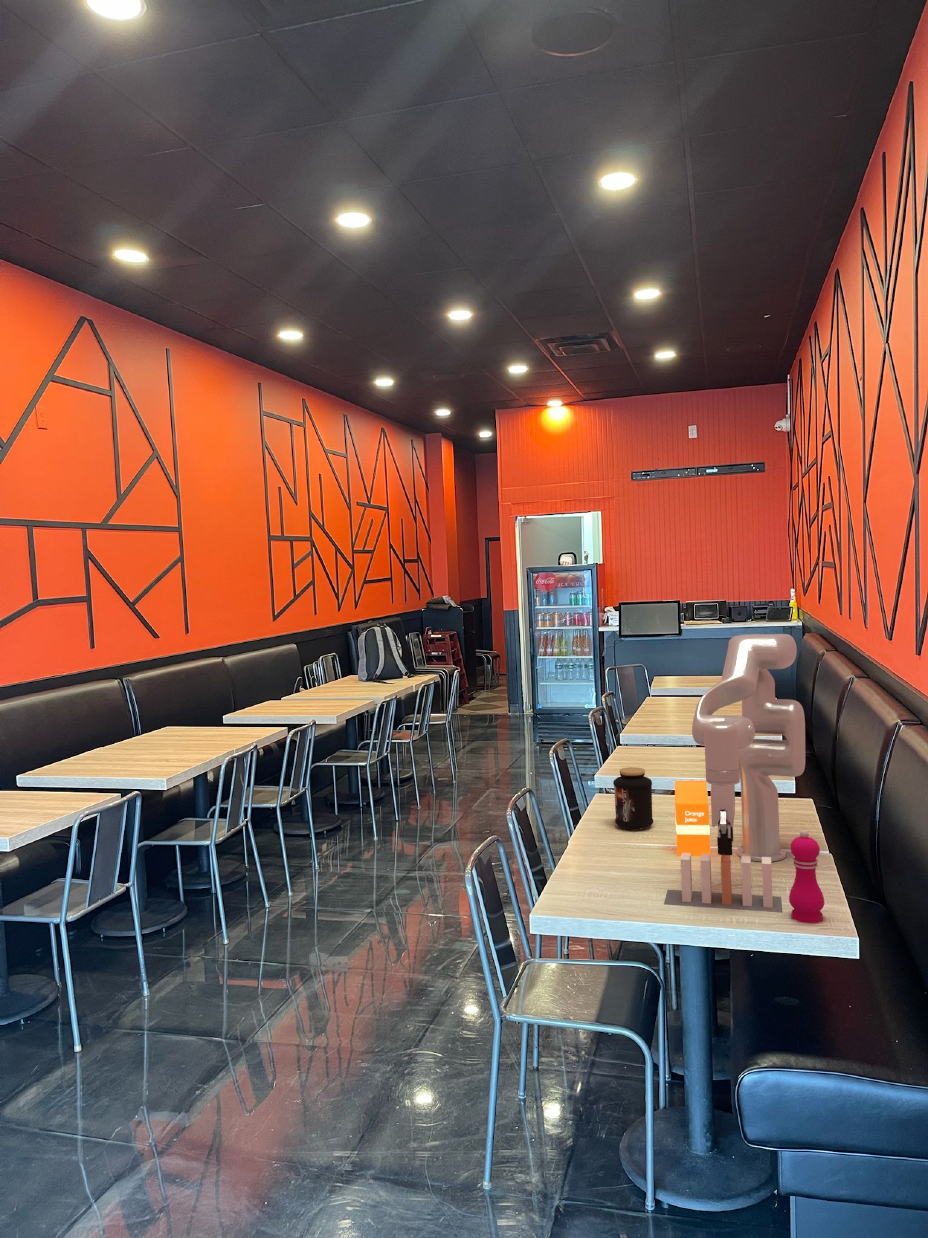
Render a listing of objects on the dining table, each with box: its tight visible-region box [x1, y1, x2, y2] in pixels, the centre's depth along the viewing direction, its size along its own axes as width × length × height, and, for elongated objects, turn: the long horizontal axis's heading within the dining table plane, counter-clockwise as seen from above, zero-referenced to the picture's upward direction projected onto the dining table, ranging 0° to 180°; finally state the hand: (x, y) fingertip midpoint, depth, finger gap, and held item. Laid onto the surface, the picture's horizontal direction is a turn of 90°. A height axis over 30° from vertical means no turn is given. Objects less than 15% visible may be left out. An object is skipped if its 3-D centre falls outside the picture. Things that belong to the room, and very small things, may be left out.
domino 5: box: [761, 857, 773, 908], centre depth 200 cm, size 2×5×10 cm, turn 162°
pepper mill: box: [788, 829, 825, 924], centre depth 191 cm, size 7×7×20 cm
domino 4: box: [740, 856, 753, 906], centre depth 201 cm, size 2×5×10 cm, turn 162°
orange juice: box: [674, 780, 711, 857], centre depth 242 cm, size 8×9×20 cm
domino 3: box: [720, 855, 733, 905], centre depth 203 cm, size 2×5×10 cm, turn 162°
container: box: [612, 766, 654, 831], centre depth 269 cm, size 12×12×18 cm
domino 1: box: [680, 853, 693, 902], centre depth 206 cm, size 2×5×10 cm, turn 162°
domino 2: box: [700, 853, 713, 903], centre depth 204 cm, size 2×5×10 cm, turn 162°
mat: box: [663, 889, 784, 913], centre depth 203 cm, size 10×26×1 cm, turn 72°
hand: (725, 847), depth 203 cm, fingers open, 9 cm apart
